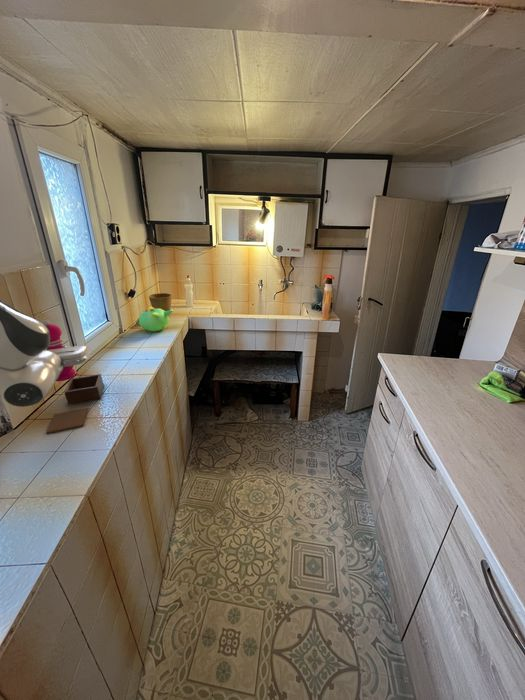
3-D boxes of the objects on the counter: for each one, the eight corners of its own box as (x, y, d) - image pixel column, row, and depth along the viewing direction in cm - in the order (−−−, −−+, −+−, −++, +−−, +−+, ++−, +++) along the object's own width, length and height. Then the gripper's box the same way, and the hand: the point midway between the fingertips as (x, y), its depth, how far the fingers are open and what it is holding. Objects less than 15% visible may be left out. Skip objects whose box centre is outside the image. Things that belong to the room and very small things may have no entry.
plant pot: (153, 322, 190) (149, 298, 184) (151, 315, 203) (148, 294, 196) (175, 319, 196) (172, 296, 189) (173, 313, 208) (170, 292, 202)
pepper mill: (59, 384, 90) (38, 325, 82) (47, 378, 93) (26, 321, 85) (81, 374, 96) (64, 318, 88) (70, 369, 99) (52, 315, 91)
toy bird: (157, 324, 187) (153, 302, 181) (176, 327, 180) (173, 305, 174) (135, 332, 172) (130, 309, 166) (155, 337, 165) (151, 313, 159)
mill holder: (100, 399, 107) (97, 386, 105) (68, 405, 103) (64, 392, 101) (104, 385, 116) (100, 373, 114) (74, 390, 112) (70, 378, 110)
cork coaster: (47, 433, 89) (46, 432, 89) (55, 415, 98) (55, 414, 98) (83, 426, 93) (82, 424, 92) (88, 409, 101) (87, 407, 101)
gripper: (82, 351, 82) (89, 335, 93) (-6, 363, 75) (14, 344, 87) (88, 370, 84) (94, 352, 96) (3, 383, 77) (22, 362, 89)
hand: (56, 348), depth 91 cm, fingers closed on pepper mill, 4 cm apart
